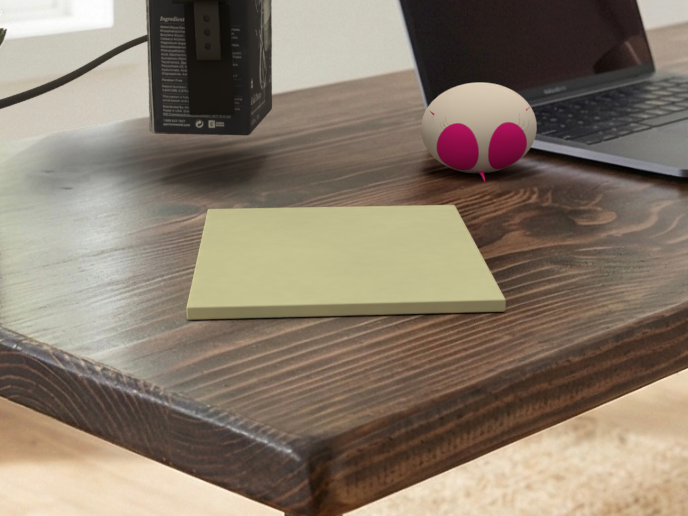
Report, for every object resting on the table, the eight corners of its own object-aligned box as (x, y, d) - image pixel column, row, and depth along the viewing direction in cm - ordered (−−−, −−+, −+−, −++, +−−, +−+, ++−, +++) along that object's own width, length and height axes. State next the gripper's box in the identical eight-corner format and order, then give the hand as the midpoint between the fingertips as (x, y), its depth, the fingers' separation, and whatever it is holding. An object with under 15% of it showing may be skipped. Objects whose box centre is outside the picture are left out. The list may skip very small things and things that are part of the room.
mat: (208, 219, 73) (207, 208, 73) (454, 214, 75) (454, 204, 74) (186, 320, 56) (186, 307, 56) (505, 312, 58) (506, 299, 58)
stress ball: (425, 226, 85) (424, 155, 80) (419, 138, 90) (418, 65, 84) (540, 221, 85) (547, 150, 80) (528, 134, 90) (534, 61, 84)
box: (254, 138, 80) (248, -39, 77) (148, 136, 80) (137, -40, 77) (277, 109, 90) (272, -48, 87) (182, 108, 90) (174, -49, 87)
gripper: (260, -297, 67) (274, 130, 74) (262, -253, 89) (272, 73, 96) (111, -301, 66) (140, 131, 73) (149, -255, 88) (169, 74, 95)
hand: (215, 99), depth 85 cm, fingers closed on box, 11 cm apart
